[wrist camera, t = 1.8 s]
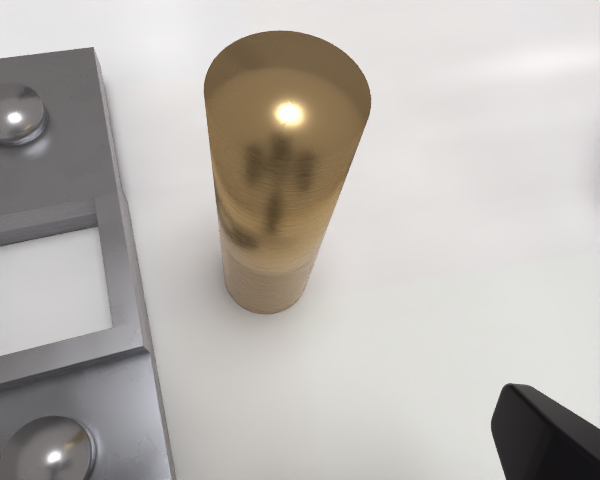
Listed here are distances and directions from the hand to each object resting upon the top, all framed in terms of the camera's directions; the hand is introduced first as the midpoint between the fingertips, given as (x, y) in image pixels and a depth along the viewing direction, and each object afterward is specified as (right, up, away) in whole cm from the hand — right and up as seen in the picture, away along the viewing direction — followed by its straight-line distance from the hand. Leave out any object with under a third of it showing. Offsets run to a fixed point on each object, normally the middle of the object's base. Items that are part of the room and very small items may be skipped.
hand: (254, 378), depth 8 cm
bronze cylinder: (-1, +1, +14) cm, 14 cm away
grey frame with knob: (-11, 0, +13) cm, 16 cm away
